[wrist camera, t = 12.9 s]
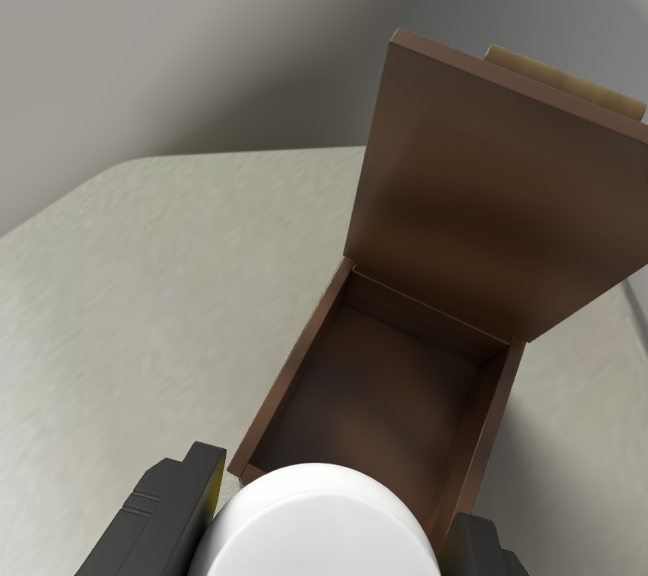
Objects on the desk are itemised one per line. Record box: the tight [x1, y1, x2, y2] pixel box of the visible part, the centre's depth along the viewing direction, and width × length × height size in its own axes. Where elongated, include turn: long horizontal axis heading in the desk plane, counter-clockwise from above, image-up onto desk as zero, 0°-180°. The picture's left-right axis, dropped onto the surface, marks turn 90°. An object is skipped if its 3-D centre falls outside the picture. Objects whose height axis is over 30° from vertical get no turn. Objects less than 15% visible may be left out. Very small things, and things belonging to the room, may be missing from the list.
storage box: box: [227, 256, 526, 560], centre depth 28 cm, size 14×12×6 cm
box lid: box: [343, 27, 648, 343], centre depth 22 cm, size 14×12×5 cm
